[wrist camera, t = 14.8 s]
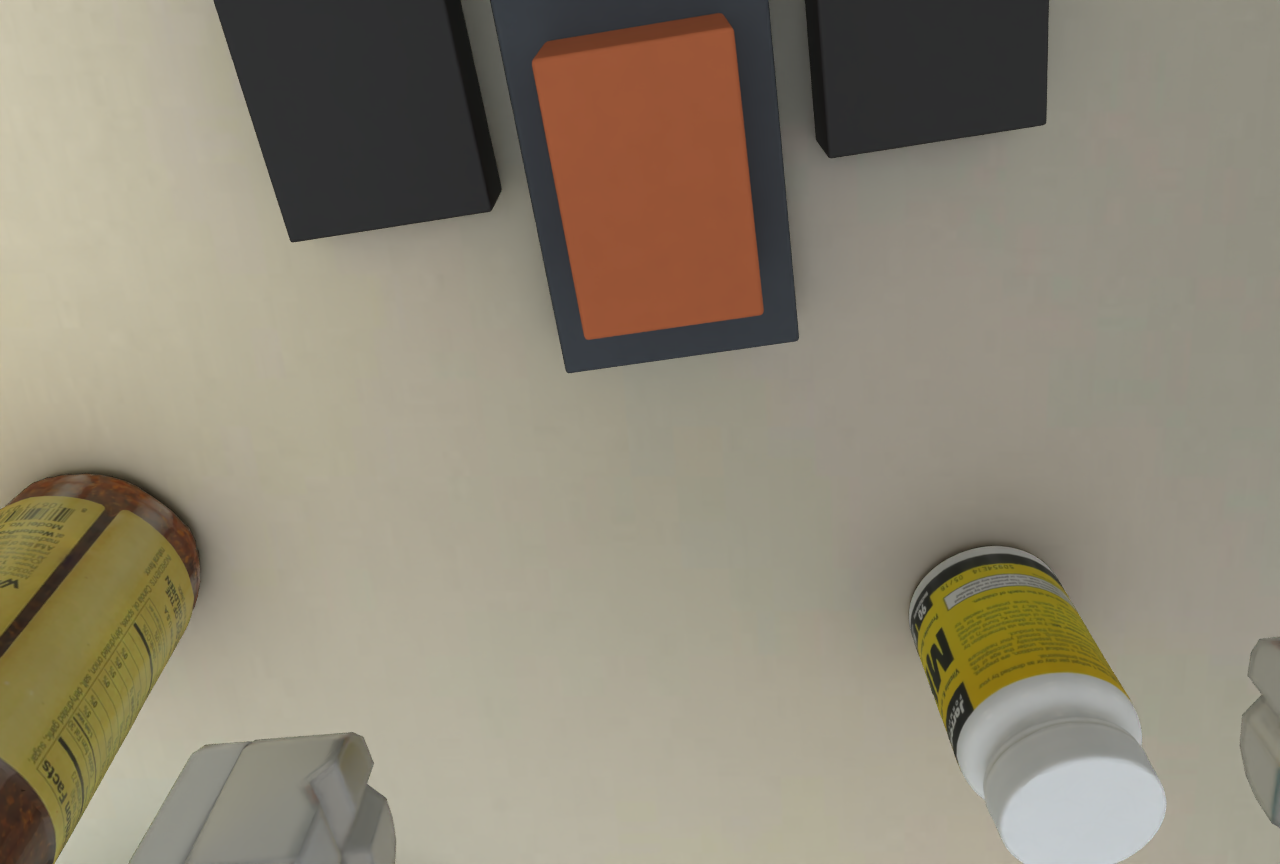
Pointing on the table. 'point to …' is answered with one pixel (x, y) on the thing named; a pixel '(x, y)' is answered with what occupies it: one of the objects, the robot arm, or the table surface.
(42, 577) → the sauce bottle
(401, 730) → the table surface
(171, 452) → the table surface
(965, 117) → the base pad
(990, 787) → the supplement bottle
